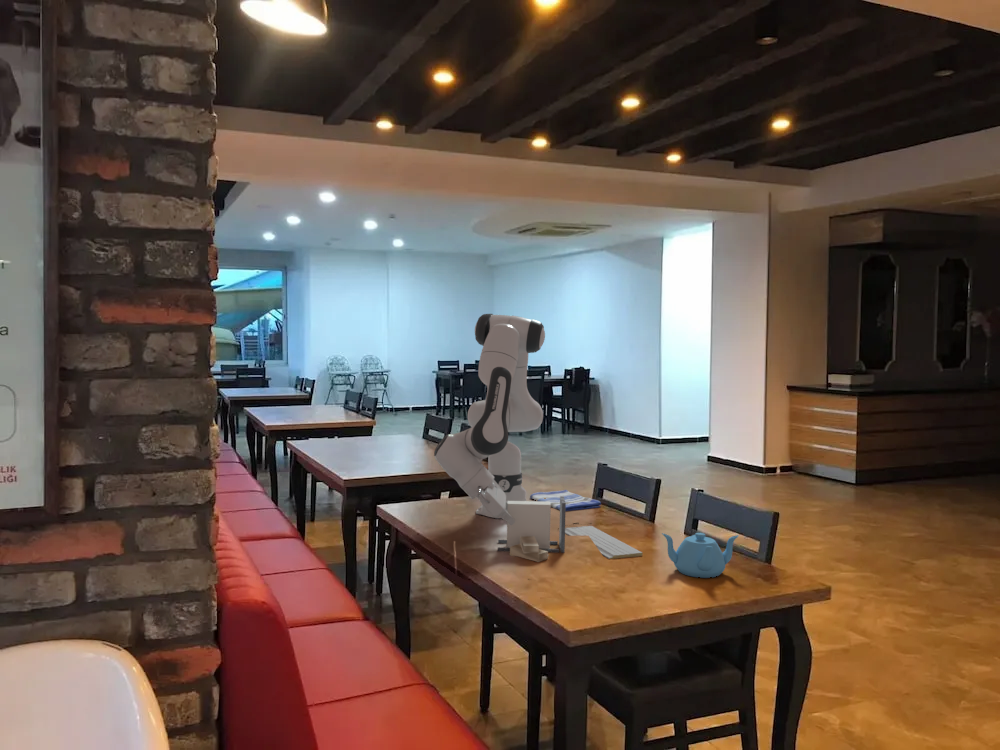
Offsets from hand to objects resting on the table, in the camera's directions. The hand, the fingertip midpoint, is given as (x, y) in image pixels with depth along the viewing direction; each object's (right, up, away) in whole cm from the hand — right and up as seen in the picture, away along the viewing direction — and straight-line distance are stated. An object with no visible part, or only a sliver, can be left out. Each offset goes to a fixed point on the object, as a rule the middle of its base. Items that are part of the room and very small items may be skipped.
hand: (513, 518), depth 217 cm
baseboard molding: (+25, -10, +11) cm, 29 cm away
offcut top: (+4, -6, -8) cm, 11 cm away
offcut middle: (+4, -8, -9) cm, 13 cm away
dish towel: (+20, -7, +64) cm, 68 cm away
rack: (+4, -9, 0) cm, 10 cm away
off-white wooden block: (+4, -9, 0) cm, 10 cm away
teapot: (+48, -11, -16) cm, 52 cm away
